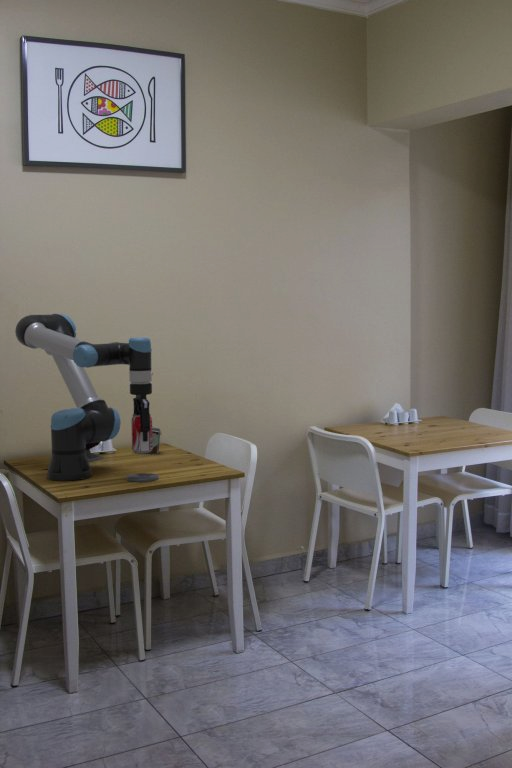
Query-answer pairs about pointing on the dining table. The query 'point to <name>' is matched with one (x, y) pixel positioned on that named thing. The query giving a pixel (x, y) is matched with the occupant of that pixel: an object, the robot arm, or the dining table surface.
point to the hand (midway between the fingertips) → (142, 448)
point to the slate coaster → (142, 477)
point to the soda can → (136, 434)
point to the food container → (155, 441)
